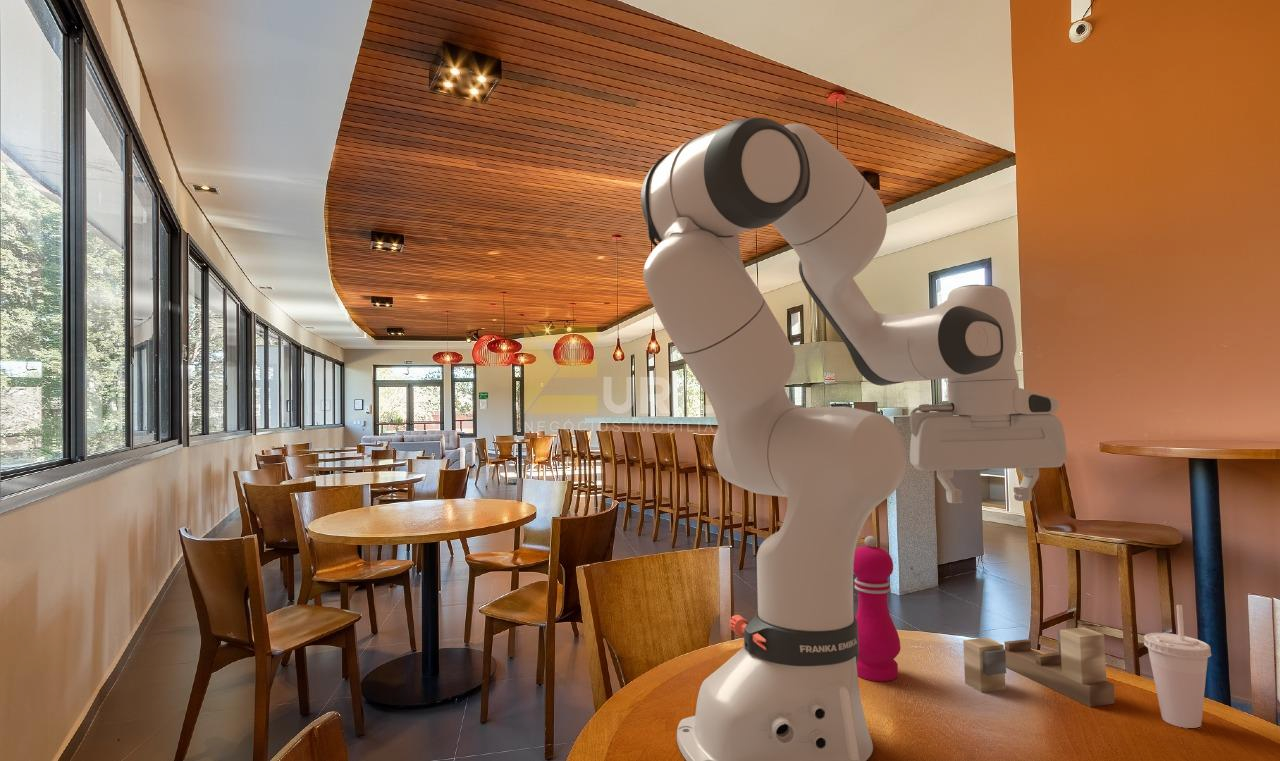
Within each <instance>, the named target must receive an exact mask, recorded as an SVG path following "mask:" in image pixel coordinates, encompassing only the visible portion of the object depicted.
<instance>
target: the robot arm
mask: <svg viewBox="0 0 1280 761" xmlns="http://www.w3.org/2000/svg"><path fill="white" fill-rule="evenodd" d="M640 205H641V210H642V211H641V212H642V214H643V218H644V221H645V223H646V225H647V233H648V234H647V236H648V239H649V241H650V243H651V244H653V246H654V248H653V250H652V251H651V252H650V253H649V255H648V257H647V258H646V261H645V263H644V266H643V270H642V271H643V272H642V277H643V283H644V285H645V286H644V287H645V289H646V291H647V294H648V296H649V299H650V301H651V304H652V306H653V307H654V310H655V312H656V314H657V316H658V318H659V321H660V322H661V324H662V326H663V328H664V330H665V331H666V333H667V335H668V337H669V338H670V340H671V341H672V343H673V345H674V346H675V347H676V349H677V351H678V353H679V354H680V355H681V356H680V357H682V358H683V360H684V362H685V363H686V365H687V367H688V368H689V369H690V371H691V373H692V375H694V377H695V379H696V381H697V382H698V384H699V385H700V388H702V390H703V391H704V394H705V395H706V397H707V399H708V401H709V402H710V405H711V407H712V409H713V412H714V415H715V418H716V423H717V427H718V429H717V430H716V431H715V435H714V438H713V443H712V457H713V462H714V464H715V465H714V466H715V468H716V469H717V472H718V473H719V476H721V478H723V479H724V480H725V481H726V482H728V483H730V484H733V485H734V486H736V487H739V488H740V489H743V490H745V491H749V492H751V493H754V494H758V495H759V494H760V495H764V496H765V495H766V496H773V497H781V498H786V500H787V502H786V504H787V505H786V510H785V515H784V519H783V522H782V525H781V526H780V528H779V530H778V531H776V532H774V533H772V534H771V535H770V536H769V535H768V537H767V538H765V539H764V540H763V542H762V543H760V546H759V547H758V550H757V553H756V579H757V580H756V584H757V585H756V586H757V611H756V612H755V614H754V616H753V618H752V619H751V620H750V621H748V620H747V619H745V618H744V617H743V616H742V615H740V614H735V615H733V616H731V618H730V619H728V620H729V622H728V625H729V626H728V627H729V628H730V630H731V631H732V632H733V633H735V634H736V635H737V636H739V637H740V636H741V637H742V636H743V643H744V644H743V645H744V646H743V647H741V648H740V649H738V651H737V652H736V653H734V655H733V656H732V657H730V658H729V659H728V660H727V661H726V662H724V663H723V664H722V665H721V666H720V667H718V668H717V669H716V670H715V671H714V672H712V673H711V674H710V675H709V676H707V677H706V678H705V679H704V680H703V681H702V683H701V685H700V688H699V692H698V694H697V700H696V705H695V706H696V707H695V715H692V716H689V717H685V718H682V719H681V720H680V721H679V723H678V726H677V728H676V729H677V731H676V742H677V745H678V749H679V751H680V753H681V755H682V757H683V758H684V759H685V761H867V760H869V758H870V757H871V755H872V753H873V751H874V745H873V741H872V738H871V735H870V731H869V728H868V724H867V721H866V720H867V719H866V716H865V712H864V708H863V707H864V706H863V702H862V697H861V696H862V695H861V690H860V683H859V676H858V673H857V662H858V657H859V637H858V622H857V620H856V618H855V617H856V616H854V573H853V569H854V556H855V550H857V545H858V544H857V543H858V540H859V537H860V535H861V532H862V530H863V527H864V526H865V524H866V521H867V520H868V518H869V516H870V515H871V513H872V512H873V511H874V510H875V509H876V508H877V506H879V505H880V504H881V503H883V501H885V500H886V499H888V498H889V497H890V496H891V495H892V494H894V493H895V491H896V490H897V489H898V487H899V486H900V484H901V482H902V480H903V477H904V475H905V470H906V467H907V448H906V444H905V442H904V438H903V437H902V434H901V432H900V430H899V429H898V427H897V425H895V423H894V422H893V421H892V420H891V419H890V418H888V416H886V415H883V414H881V413H877V412H873V411H868V410H865V409H861V408H855V407H849V406H843V405H842V406H816V407H815V406H811V407H810V406H807V407H803V406H798V405H797V404H795V403H794V402H793V401H792V400H790V398H789V396H788V394H787V392H786V389H785V386H786V385H787V384H788V382H789V380H790V379H791V376H792V374H793V371H794V368H795V364H796V354H795V350H794V349H795V348H794V347H793V346H792V344H791V343H790V340H789V339H788V337H787V335H786V333H785V332H784V330H783V328H782V327H781V325H780V323H779V321H778V320H777V318H776V317H775V315H774V313H773V311H772V309H771V308H770V306H769V304H768V303H767V300H766V299H765V298H764V297H763V296H764V295H762V293H761V292H760V290H759V288H758V286H757V285H756V283H755V282H754V280H753V279H752V277H751V276H750V274H749V273H748V272H747V271H746V267H745V265H744V262H743V258H742V254H741V247H740V234H743V233H744V234H745V232H749V231H751V230H754V229H760V228H765V227H767V226H769V225H772V226H773V227H774V228H775V230H776V231H777V232H778V233H779V234H780V236H781V237H782V238H783V239H784V240H785V241H786V243H787V244H789V245H790V247H791V248H792V249H793V251H795V254H797V257H798V259H799V262H798V271H799V276H800V278H801V281H802V284H803V285H804V287H805V289H806V290H807V292H808V294H809V295H810V296H811V298H812V300H813V301H814V303H815V304H816V305H817V307H818V309H819V310H820V311H821V313H822V314H823V316H825V318H826V320H828V322H829V323H830V325H831V327H833V329H834V330H835V332H836V333H837V335H838V336H839V337H840V339H841V340H842V342H843V343H844V345H845V346H846V348H847V350H848V352H849V354H850V357H851V359H852V361H853V365H854V366H855V368H856V369H857V370H858V372H859V373H860V374H861V376H862V377H863V378H864V379H865V380H866V381H868V382H869V383H871V384H873V385H875V386H890V385H895V384H901V383H907V382H917V381H918V382H919V381H920V382H921V381H934V380H935V381H936V380H942V379H943V380H944V379H945V380H946V379H947V382H946V383H947V397H948V398H947V399H948V401H947V402H948V403H936V404H929V403H923V404H919V405H918V407H916V408H914V409H912V410H911V411H910V414H909V415H908V416H909V418H908V422H909V424H908V425H909V430H910V432H911V436H910V446H909V461H910V464H911V465H912V466H913V467H914V469H916V470H918V471H924V472H928V471H929V472H930V471H931V472H933V471H935V472H936V478H937V480H938V481H939V482H940V484H941V485H942V487H943V488H944V490H945V496H946V502H947V503H950V504H962V503H963V502H964V501H963V500H964V499H963V490H962V489H959V488H958V489H957V488H956V487H955V485H954V484H953V483H952V480H951V479H953V478H954V471H967V470H969V471H971V470H999V469H1000V470H1002V469H1005V470H1007V469H1019V471H1020V475H1023V478H1022V480H1021V482H1020V485H1019V486H1013V492H1014V496H1013V497H1014V500H1015V501H1018V502H1031V501H1032V500H1033V496H1032V495H1033V494H1032V493H1033V492H1032V491H1033V490H1032V489H1033V488H1034V486H1035V484H1036V482H1037V481H1038V480H1039V478H1040V468H1043V469H1044V468H1060V467H1062V466H1063V465H1064V463H1065V462H1066V461H1067V454H1068V453H1067V443H1066V436H1065V431H1064V430H1065V429H1064V427H1063V423H1062V422H1061V419H1060V418H1058V416H1057V415H1054V414H1056V413H1058V411H1059V408H1060V407H1059V401H1058V399H1057V398H1056V397H1053V396H1050V395H1046V394H1042V393H1038V392H1035V391H1031V390H1027V389H1024V388H1021V387H1020V383H1019V375H1018V373H1017V370H1016V366H1015V357H1016V353H1017V335H1016V323H1015V318H1014V313H1013V309H1012V305H1011V300H1010V298H1009V295H1008V293H1007V292H1006V291H1005V290H1004V289H1003V288H1001V287H997V286H995V285H990V284H984V285H983V284H969V285H963V286H959V287H956V288H954V289H952V290H951V291H950V292H949V293H948V296H947V299H946V300H945V301H944V302H942V303H940V304H938V305H936V306H933V308H927V309H923V310H917V311H911V312H907V313H906V312H905V313H902V314H901V313H900V314H887V313H881V312H878V311H876V310H874V309H873V307H872V305H871V304H870V302H869V301H868V299H867V298H866V296H865V294H864V293H863V291H862V290H861V289H860V286H859V285H858V283H857V282H856V280H855V279H854V278H855V277H856V276H857V275H859V274H860V273H861V272H862V271H864V270H865V268H867V266H869V264H870V263H871V262H872V261H873V259H874V258H875V256H876V255H877V254H878V252H879V250H880V248H881V246H882V245H883V242H884V240H885V236H886V234H887V228H888V217H887V216H888V214H887V210H886V208H885V205H884V204H883V201H882V200H881V198H880V196H879V195H878V194H877V192H876V190H874V188H873V187H872V185H870V182H868V181H867V180H866V178H865V177H864V176H863V175H862V174H861V173H860V171H859V170H858V169H857V168H856V167H855V166H854V164H853V163H851V161H850V160H848V159H847V158H846V156H845V155H844V154H843V153H841V152H840V151H839V149H838V148H836V147H835V146H834V145H833V144H832V143H831V142H829V141H828V140H827V139H826V138H824V137H823V136H822V135H821V134H819V133H818V132H817V131H815V130H814V129H813V128H812V127H810V126H808V125H806V124H803V123H798V122H797V123H796V122H795V123H793V122H792V123H788V124H785V125H783V124H782V123H780V122H778V121H775V120H773V119H770V118H765V117H745V118H741V119H740V118H739V119H736V120H733V121H731V122H728V123H726V124H725V125H723V126H722V127H721V128H718V129H714V130H712V131H709V132H707V133H704V134H699V135H696V136H695V137H692V138H689V140H686V141H685V142H684V143H683V144H681V145H679V146H678V147H676V148H675V149H674V150H672V151H671V152H669V153H667V154H665V155H663V156H661V157H660V158H659V159H658V160H657V161H656V162H655V163H654V165H652V167H651V168H650V169H649V170H648V173H646V176H645V177H644V180H643V182H642V186H641V189H640ZM656 241H657V242H658V243H657V242H656ZM917 411H919V412H917Z"/></svg>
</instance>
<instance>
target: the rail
mask: <svg viewBox="0 0 1280 761" xmlns="http://www.w3.org/2000/svg"><path fill="white" fill-rule="evenodd" d="M1057 638H1058V639H1057V640H1058V644H1057V645H1058V651H1057V652H1049V653H1041V652H1039V651H1036V650H1035V649H1032V642H1031V640H1029V639H1027V638H1026V639H1017V640H1008V641H1004V650H1005V655H1006V669H1009V670H1010V671H1013V672H1015V673H1017V674H1020V675H1021V676H1024V677H1026V678H1028V679H1030V680H1031V681H1032V680H1033V681H1034V682H1036V683H1039V684H1041V685H1043V686H1045V687H1047V688H1049V689H1052V690H1054V691H1055V692H1057V693H1059V694H1062V695H1064V696H1065V697H1068V698H1070V699H1072V700H1075V701H1077V702H1079V703H1081V704H1083V705H1085V706H1087V707H1090V708H1092V707H1098V706H1099V707H1101V706H1105V705H1106V706H1107V705H1112V704H1115V703H1116V702H1115V701H1116V699H1115V684H1114V683H1113V682H1110V681H1108V680H1107V664H1106V662H1107V661H1106V646H1105V634H1104V633H1101V632H1098V631H1095V630H1093V629H1089V628H1087V627H1085V626H1082V627H1075V628H1074V627H1073V628H1065V629H1060V630H1059V631H1057Z"/></svg>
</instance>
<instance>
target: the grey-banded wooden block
mask: <svg viewBox="0 0 1280 761" xmlns="http://www.w3.org/2000/svg"><path fill="white" fill-rule="evenodd" d="M962 642H963V644H962V645H963V662H964V663H963V664H964V665H963V666H964V668H963V669H964V684H965V685H967V686H968V687H971V688H973V689H974V690H976V691H978V692H979V693H986V692H994V691H1000V690H1001V691H1002V690H1006V674H1007V667H1006V655H1005V650H1004V649H1005V644H1003V643H1001V642H998V641H996V640H993V639H991V638H990V637H981V638H980V637H979V638H973V639H972V638H970V639H963V640H962Z"/></svg>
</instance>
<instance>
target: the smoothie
mask: <svg viewBox="0 0 1280 761" xmlns="http://www.w3.org/2000/svg"><path fill="white" fill-rule="evenodd" d="M1183 613H1184V611H1183V605H1182V604H1176V616H1177V617H1176V618H1177V619H1176V620H1177V621H1176V622H1177V634H1175V633H1167V632H1150V633H1147V634H1145V635H1144V636H1143V637H1144V641H1143V644H1144V646H1145V647H1146V648H1147V649H1148V650H1147V651H1148V656H1149V661H1150V666H1151V670H1152V675H1153V680H1154V685H1155V691H1156V695H1157V699H1158V705H1159V709H1160V710H1159V711H1160V715H1161V719H1162V720H1163V721H1164V722H1166V723H1168V724H1170V725H1173V726H1176V727H1179V728H1182V727H1183V728H1184V729H1188V728H1195V727H1200V726H1201V727H1202V720H1203V710H1204V703H1205V702H1204V701H1205V688H1206V679H1207V671H1208V668H1207V667H1208V661H1209V660H1208V658H1210V657H1211V656H1212V653H1211V645H1209V644H1208V643H1206V642H1205V641H1202V640H1201V639H1197V638H1194V637H1190V636H1186V635H1185V629H1184V614H1183ZM1198 696H1199V697H1198ZM1201 727H1200V728H1201Z"/></svg>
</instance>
